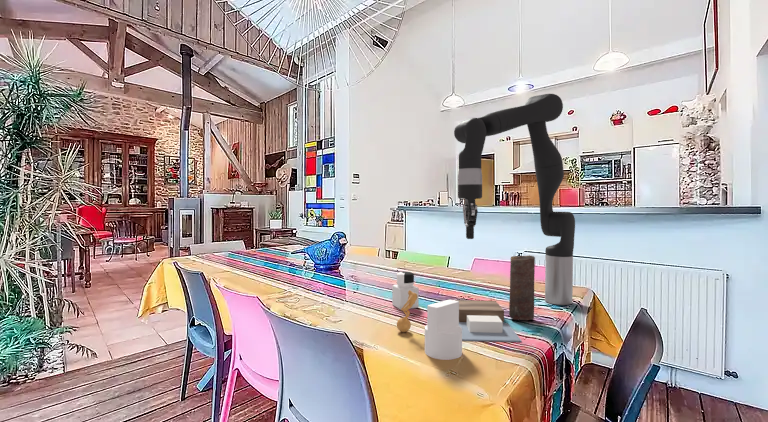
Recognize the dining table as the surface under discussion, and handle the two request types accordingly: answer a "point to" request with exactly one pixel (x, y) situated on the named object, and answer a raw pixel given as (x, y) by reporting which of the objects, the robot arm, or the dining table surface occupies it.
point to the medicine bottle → (404, 290)
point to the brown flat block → (479, 309)
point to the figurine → (404, 323)
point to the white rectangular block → (484, 324)
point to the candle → (522, 287)
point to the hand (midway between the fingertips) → (469, 238)
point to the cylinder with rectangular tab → (443, 331)
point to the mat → (489, 334)
